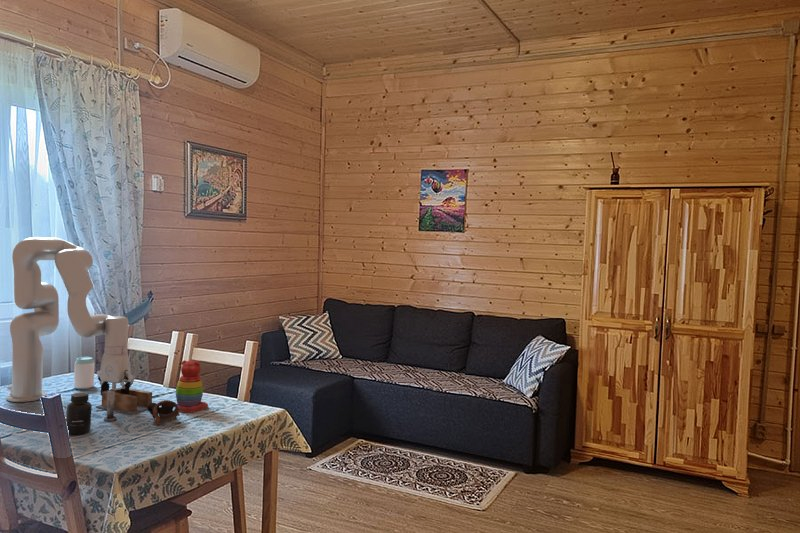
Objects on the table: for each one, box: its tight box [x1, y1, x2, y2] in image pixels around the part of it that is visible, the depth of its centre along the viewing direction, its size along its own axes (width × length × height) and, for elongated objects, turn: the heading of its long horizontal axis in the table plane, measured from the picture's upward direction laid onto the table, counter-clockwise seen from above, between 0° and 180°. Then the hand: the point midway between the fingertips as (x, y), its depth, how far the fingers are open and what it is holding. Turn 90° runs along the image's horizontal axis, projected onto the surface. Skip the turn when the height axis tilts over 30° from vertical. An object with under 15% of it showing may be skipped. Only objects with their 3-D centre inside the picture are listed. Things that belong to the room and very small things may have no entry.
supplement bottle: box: [65, 392, 92, 436], centre depth 184 cm, size 7×7×12 cm
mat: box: [95, 404, 148, 416], centre depth 213 cm, size 17×12×1 cm
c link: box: [101, 386, 153, 412], centre depth 212 cm, size 14×9×5 cm, turn 68°
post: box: [103, 391, 117, 422], centre depth 197 cm, size 4×4×10 cm
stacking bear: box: [175, 360, 209, 413], centre depth 214 cm, size 11×10×18 cm
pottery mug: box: [147, 400, 181, 427], centre depth 198 cm, size 12×10×8 cm
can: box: [73, 356, 95, 390], centre depth 236 cm, size 7×7×12 cm
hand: (114, 396), depth 215 cm, fingers open, 9 cm apart
